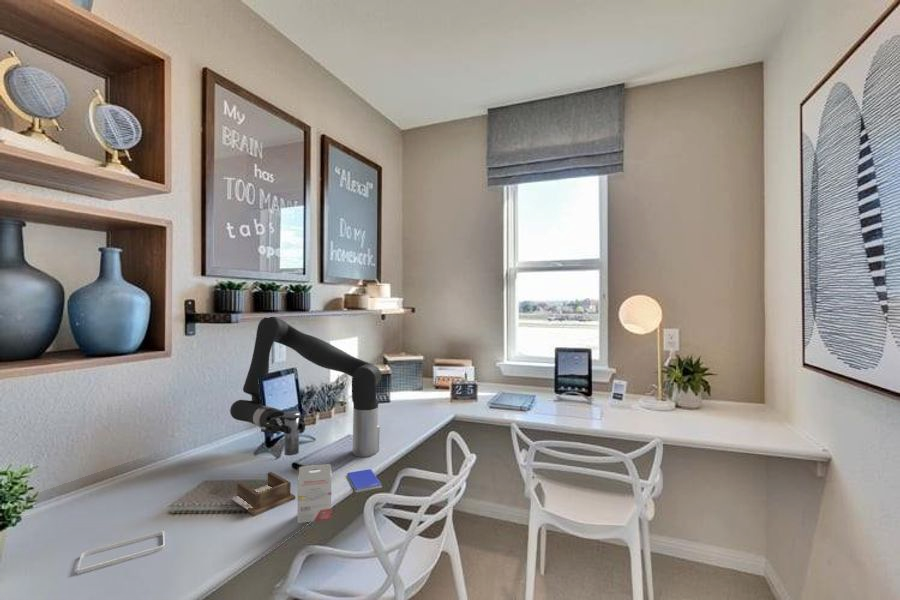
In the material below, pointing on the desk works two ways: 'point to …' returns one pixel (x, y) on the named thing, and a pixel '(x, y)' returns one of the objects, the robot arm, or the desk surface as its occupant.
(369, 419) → the robot arm
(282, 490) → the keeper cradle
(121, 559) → the rectangular frame
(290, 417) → the pin
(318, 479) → the ink cartridge box
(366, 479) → the hard drive
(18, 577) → the desk surface
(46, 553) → the desk surface
